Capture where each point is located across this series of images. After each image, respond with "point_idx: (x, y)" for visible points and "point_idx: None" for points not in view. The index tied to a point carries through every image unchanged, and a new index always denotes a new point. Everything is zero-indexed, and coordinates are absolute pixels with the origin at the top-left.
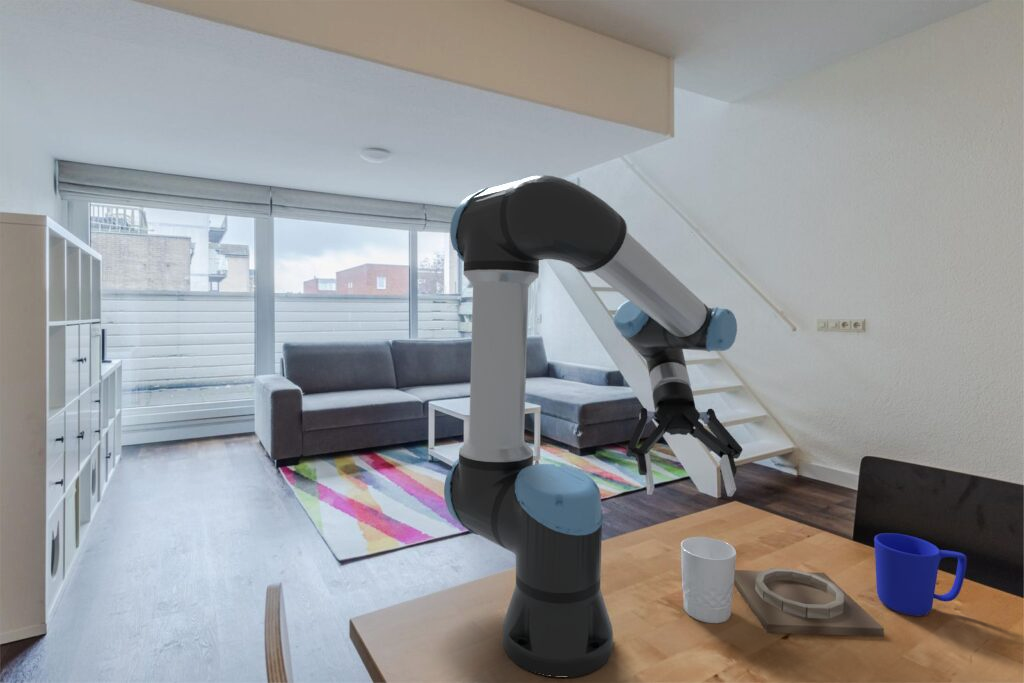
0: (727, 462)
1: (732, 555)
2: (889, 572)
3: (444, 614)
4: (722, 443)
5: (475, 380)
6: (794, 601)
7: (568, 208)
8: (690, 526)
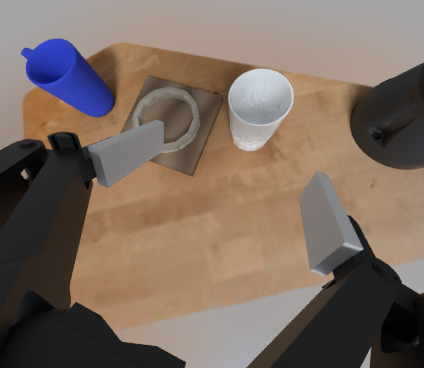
0: (113, 139)
1: (232, 93)
2: (94, 77)
3: None
4: (44, 171)
5: None
6: (187, 99)
7: None
8: (147, 298)
